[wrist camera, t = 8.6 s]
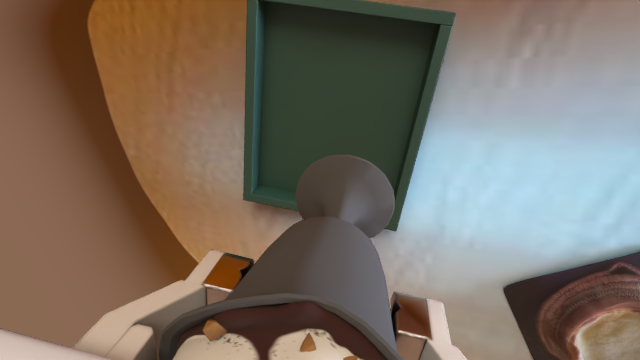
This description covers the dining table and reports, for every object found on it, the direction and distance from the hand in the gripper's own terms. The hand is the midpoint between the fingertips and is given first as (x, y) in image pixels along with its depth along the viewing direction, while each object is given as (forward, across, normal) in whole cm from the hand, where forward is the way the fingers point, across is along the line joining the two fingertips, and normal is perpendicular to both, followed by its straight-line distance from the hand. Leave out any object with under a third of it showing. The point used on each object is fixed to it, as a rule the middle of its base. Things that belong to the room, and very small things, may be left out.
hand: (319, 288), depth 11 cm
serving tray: (+27, +3, +1) cm, 27 cm away
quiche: (+27, -35, +21) cm, 49 cm away
